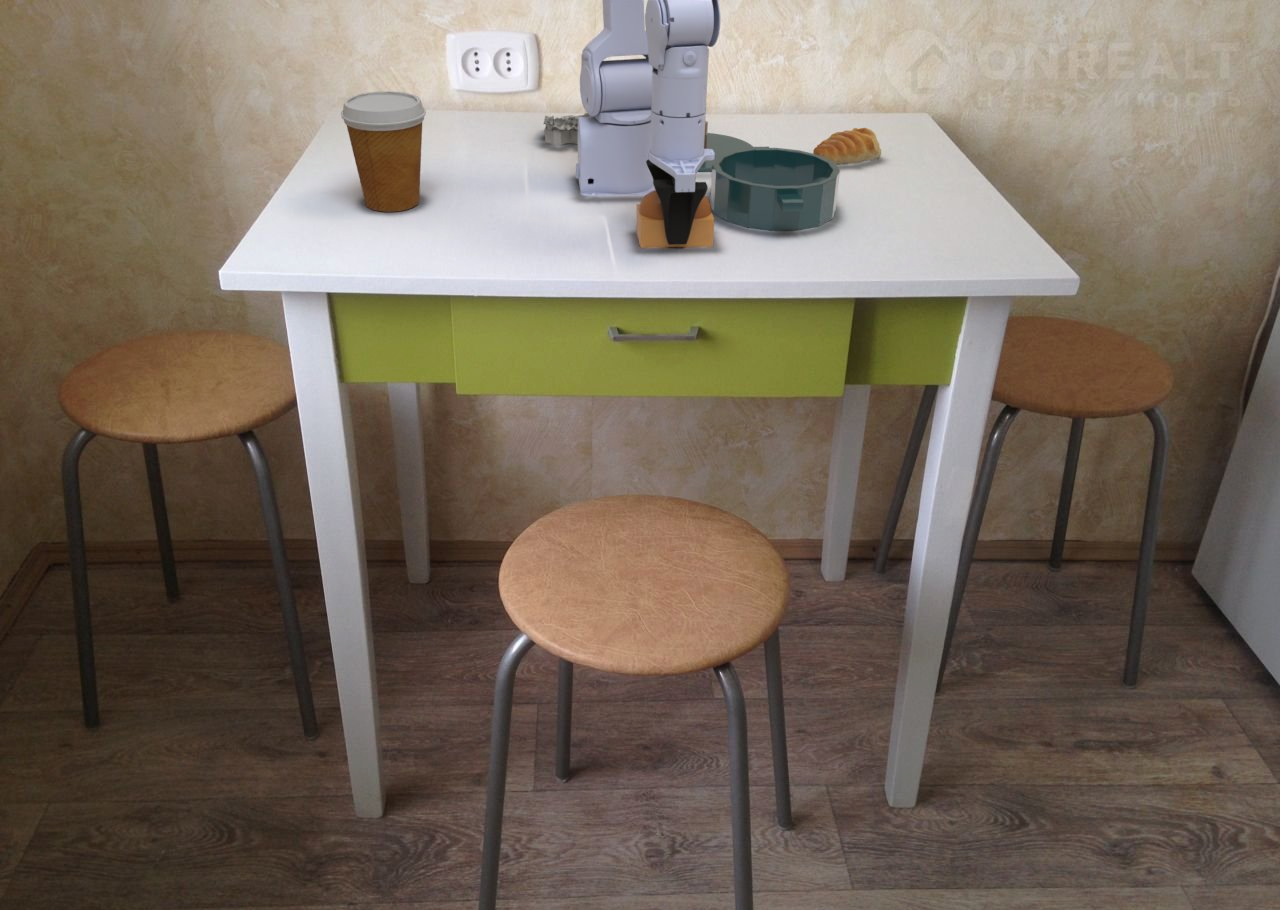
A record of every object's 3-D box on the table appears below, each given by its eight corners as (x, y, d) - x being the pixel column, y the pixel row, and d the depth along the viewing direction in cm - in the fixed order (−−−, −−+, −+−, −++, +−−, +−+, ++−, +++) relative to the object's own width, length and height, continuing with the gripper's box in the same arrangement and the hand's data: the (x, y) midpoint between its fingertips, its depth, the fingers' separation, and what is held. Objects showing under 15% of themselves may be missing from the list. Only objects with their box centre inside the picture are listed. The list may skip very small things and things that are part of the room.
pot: (725, 244, 127) (728, 197, 124) (699, 184, 144) (701, 141, 141) (853, 242, 128) (859, 195, 125) (813, 183, 145) (817, 140, 142)
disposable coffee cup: (402, 184, 141) (393, 85, 135) (448, 204, 136) (441, 102, 129) (335, 201, 136) (323, 99, 129) (381, 223, 130) (370, 117, 124)
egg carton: (621, 135, 161) (622, 106, 158) (620, 152, 154) (620, 121, 152) (545, 133, 161) (545, 103, 158) (541, 149, 154) (540, 119, 152)
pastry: (836, 173, 148) (839, 144, 146) (799, 160, 153) (801, 132, 151) (884, 160, 153) (887, 132, 151) (846, 148, 158) (849, 120, 156)
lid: (645, 177, 146) (646, 140, 143) (633, 140, 159) (634, 106, 156) (765, 175, 147) (768, 139, 145) (744, 139, 160) (746, 105, 158)
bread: (640, 251, 125) (641, 198, 121) (635, 234, 129) (637, 183, 126) (712, 250, 125) (715, 197, 122) (705, 233, 130) (708, 182, 126)
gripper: (727, 130, 114) (719, 258, 121) (706, 91, 126) (700, 209, 133) (657, 131, 113) (653, 259, 120) (642, 92, 125) (639, 210, 132)
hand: (673, 233), depth 126 cm, fingers closed on bread, 5 cm apart
